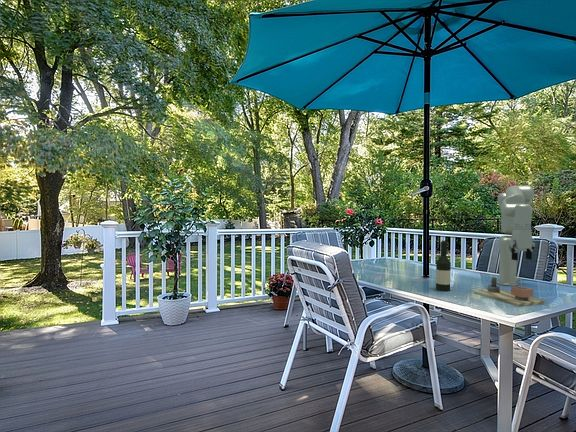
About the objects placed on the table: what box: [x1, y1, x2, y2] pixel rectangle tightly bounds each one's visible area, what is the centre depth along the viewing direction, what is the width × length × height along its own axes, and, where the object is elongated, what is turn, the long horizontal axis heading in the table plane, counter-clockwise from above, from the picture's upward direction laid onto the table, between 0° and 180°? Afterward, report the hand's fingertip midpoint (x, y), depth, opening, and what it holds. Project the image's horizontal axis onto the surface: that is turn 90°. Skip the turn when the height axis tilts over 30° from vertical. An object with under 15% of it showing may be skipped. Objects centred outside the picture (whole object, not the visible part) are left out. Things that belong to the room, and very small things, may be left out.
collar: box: [510, 285, 534, 298], centre depth 195 cm, size 7×7×4 cm
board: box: [472, 277, 546, 307], centre depth 204 cm, size 18×30×10 cm, turn 17°
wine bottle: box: [435, 240, 452, 293], centre depth 222 cm, size 8×8×30 cm
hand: (521, 259), depth 196 cm, fingers open, 9 cm apart
